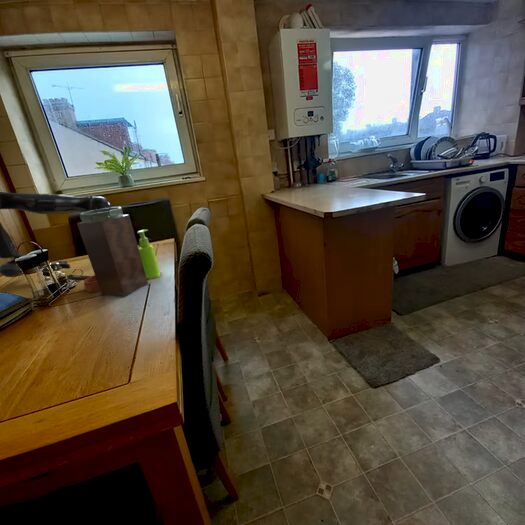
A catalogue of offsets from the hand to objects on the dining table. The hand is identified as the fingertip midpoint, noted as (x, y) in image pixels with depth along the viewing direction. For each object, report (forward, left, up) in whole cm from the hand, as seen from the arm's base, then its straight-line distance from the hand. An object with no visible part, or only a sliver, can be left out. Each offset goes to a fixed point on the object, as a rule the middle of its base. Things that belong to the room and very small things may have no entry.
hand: (59, 269), depth 120 cm
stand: (+9, +34, -6) cm, 36 cm away
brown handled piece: (+4, +15, -7) cm, 17 cm away
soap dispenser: (-3, +40, -7) cm, 41 cm away
